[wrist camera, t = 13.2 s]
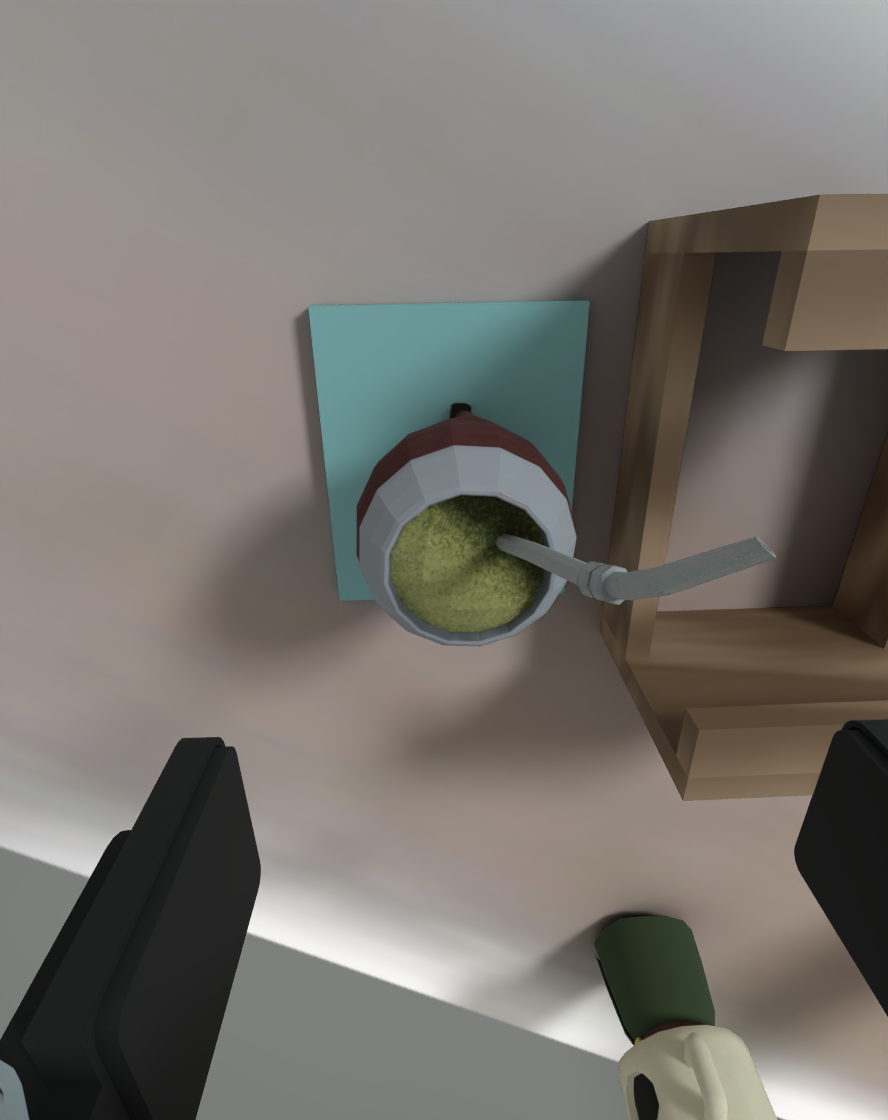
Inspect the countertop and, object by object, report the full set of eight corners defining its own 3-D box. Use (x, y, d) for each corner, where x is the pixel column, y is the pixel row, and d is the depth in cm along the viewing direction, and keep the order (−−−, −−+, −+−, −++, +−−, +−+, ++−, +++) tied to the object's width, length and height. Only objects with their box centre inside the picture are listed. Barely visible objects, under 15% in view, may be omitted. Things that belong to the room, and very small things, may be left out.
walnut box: (847, 622, 29) (1039, 785, 20) (599, 631, 29) (682, 801, 20) (983, 216, 22) (1387, 186, 13) (649, 221, 21) (819, 194, 12)
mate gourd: (366, 554, 26) (313, 878, 12) (368, 362, 22) (297, 521, 9) (539, 562, 26) (669, 880, 13) (568, 374, 23) (787, 542, 9)
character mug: (580, 887, 37) (655, 1174, 25) (696, 870, 37) (826, 1153, 25) (589, 988, 42) (655, 1268, 30) (692, 974, 42) (798, 1251, 30)
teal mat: (561, 587, 28) (564, 593, 27) (340, 594, 27) (339, 601, 27) (585, 300, 22) (589, 301, 22) (310, 305, 22) (308, 306, 21)
